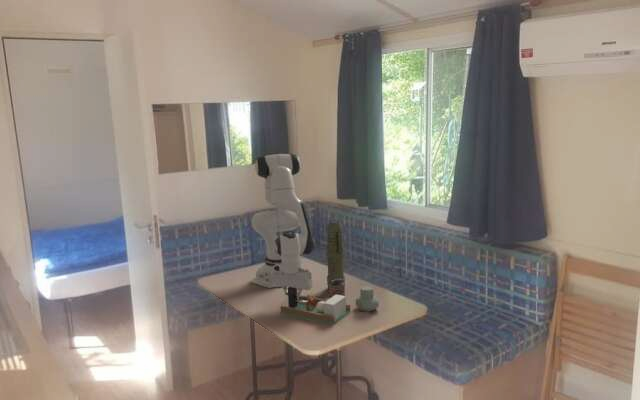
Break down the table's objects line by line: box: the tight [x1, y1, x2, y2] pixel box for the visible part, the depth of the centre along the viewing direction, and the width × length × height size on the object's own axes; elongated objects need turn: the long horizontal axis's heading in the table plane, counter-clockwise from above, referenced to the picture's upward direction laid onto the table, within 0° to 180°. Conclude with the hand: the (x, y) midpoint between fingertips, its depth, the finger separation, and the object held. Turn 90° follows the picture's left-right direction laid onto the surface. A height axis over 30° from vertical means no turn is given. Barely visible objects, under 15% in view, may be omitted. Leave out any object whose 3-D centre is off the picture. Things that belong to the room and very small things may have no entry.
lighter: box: [328, 279, 346, 300], centre depth 246 cm, size 8×3×10 cm, turn 105°
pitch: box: [280, 295, 351, 326], centre depth 230 cm, size 27×16×8 cm, turn 60°
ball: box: [316, 301, 324, 313], centre depth 229 cm, size 5×5×5 cm
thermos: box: [325, 220, 346, 292], centre depth 257 cm, size 9×12×35 cm
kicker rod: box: [287, 287, 316, 311], centre depth 234 cm, size 12×5×9 cm, turn 60°
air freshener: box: [355, 285, 380, 312], centre depth 233 cm, size 11×8×10 cm
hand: (292, 295), depth 236 cm, fingers open, 5 cm apart
